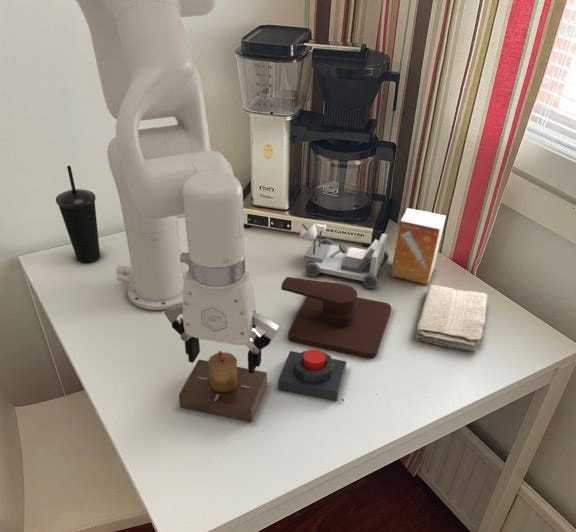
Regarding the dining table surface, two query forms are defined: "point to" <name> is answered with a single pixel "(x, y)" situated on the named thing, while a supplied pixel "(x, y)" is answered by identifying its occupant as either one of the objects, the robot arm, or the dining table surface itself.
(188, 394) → the dimmer panel
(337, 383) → the switch block
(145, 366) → the dining table surface
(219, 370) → the dimmer knob
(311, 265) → the toy car
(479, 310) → the washcloth
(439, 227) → the small box
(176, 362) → the dining table surface
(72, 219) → the drinking cup
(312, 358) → the power button
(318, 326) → the lever handle
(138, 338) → the dining table surface
